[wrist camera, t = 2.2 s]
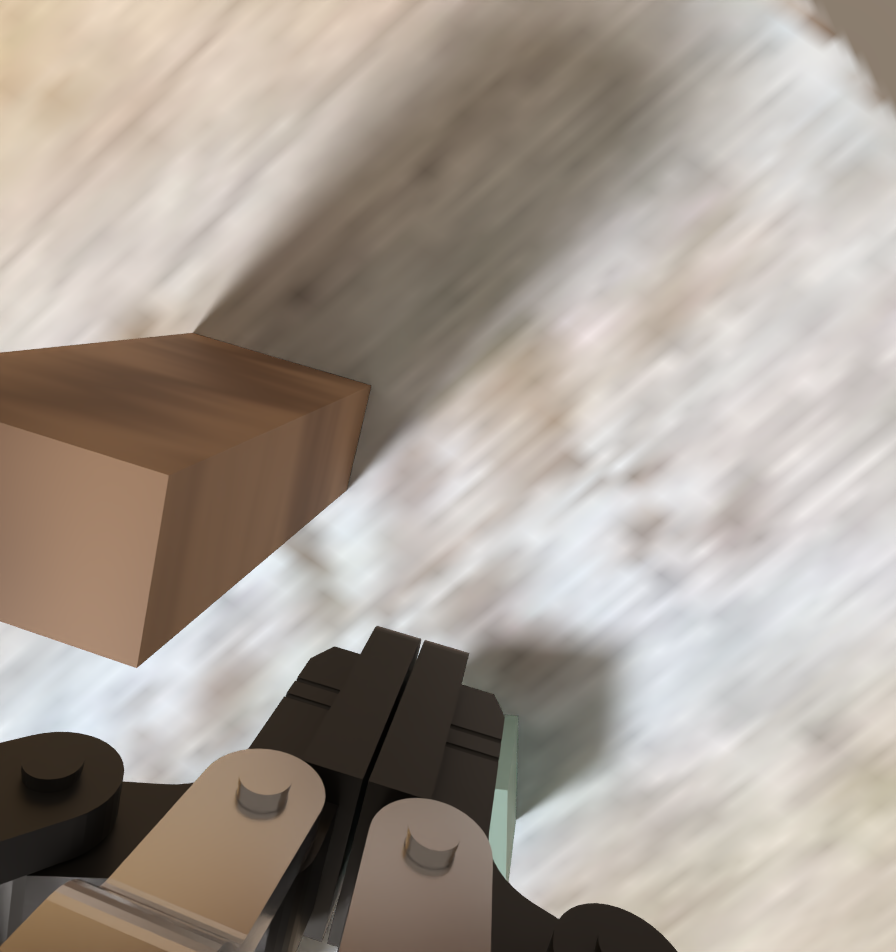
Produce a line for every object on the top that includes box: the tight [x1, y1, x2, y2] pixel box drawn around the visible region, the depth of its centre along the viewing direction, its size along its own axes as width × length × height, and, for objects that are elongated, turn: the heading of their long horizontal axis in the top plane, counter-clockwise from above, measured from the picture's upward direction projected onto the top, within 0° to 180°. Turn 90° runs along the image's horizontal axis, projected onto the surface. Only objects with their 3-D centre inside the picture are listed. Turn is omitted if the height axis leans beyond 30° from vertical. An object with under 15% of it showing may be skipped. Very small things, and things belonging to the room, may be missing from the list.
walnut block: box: [0, 333, 371, 668], centre depth 18 cm, size 6×4×12 cm, turn 75°
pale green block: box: [489, 715, 518, 882], centre depth 24 cm, size 4×4×4 cm
